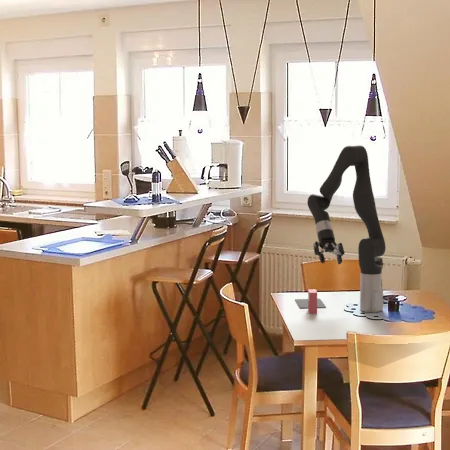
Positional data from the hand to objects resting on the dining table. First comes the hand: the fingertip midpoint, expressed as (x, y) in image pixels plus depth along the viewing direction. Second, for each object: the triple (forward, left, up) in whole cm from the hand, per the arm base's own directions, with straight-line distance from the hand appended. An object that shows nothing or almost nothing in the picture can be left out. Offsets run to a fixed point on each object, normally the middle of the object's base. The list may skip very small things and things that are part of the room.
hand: (331, 263), depth 348 cm
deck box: (+1, +12, -21) cm, 24 cm away
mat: (+11, +2, -21) cm, 23 cm away
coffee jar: (+2, -34, -21) cm, 40 cm away
